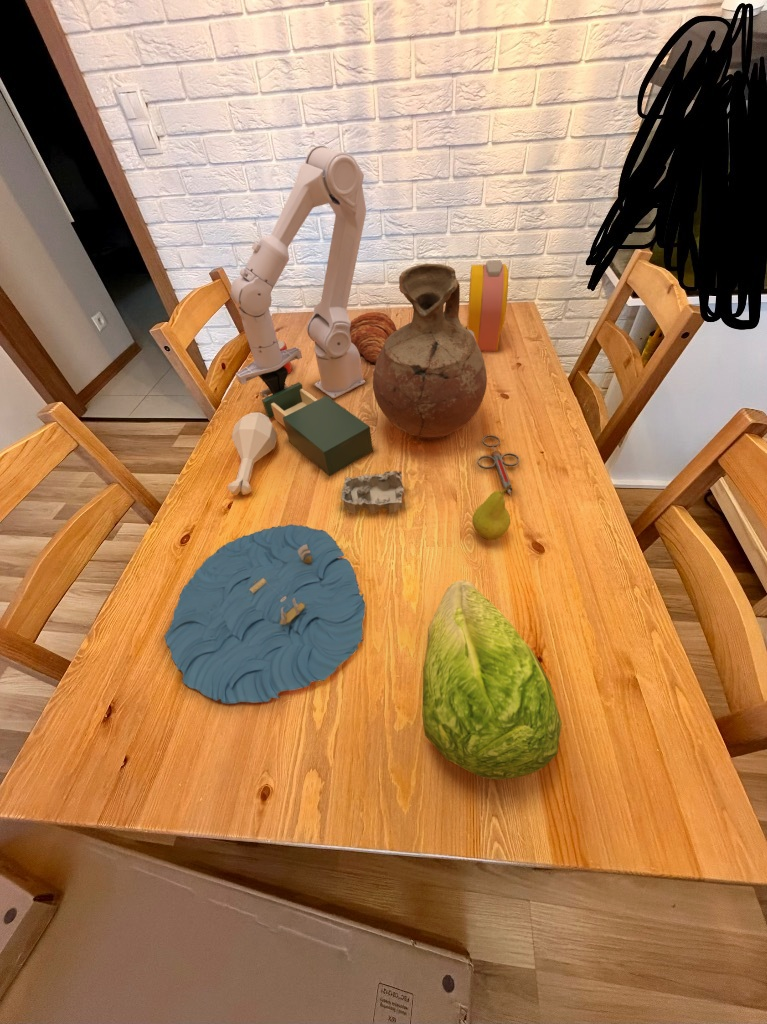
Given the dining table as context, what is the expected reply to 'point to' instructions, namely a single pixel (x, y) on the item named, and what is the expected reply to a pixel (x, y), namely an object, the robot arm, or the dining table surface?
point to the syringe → (499, 463)
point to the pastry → (371, 333)
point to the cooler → (328, 435)
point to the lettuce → (486, 691)
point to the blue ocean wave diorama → (267, 616)
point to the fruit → (492, 516)
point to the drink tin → (282, 347)
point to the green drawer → (285, 401)
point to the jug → (430, 359)
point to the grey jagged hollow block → (373, 492)
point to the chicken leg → (251, 447)
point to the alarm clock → (487, 303)
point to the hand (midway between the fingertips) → (279, 398)
